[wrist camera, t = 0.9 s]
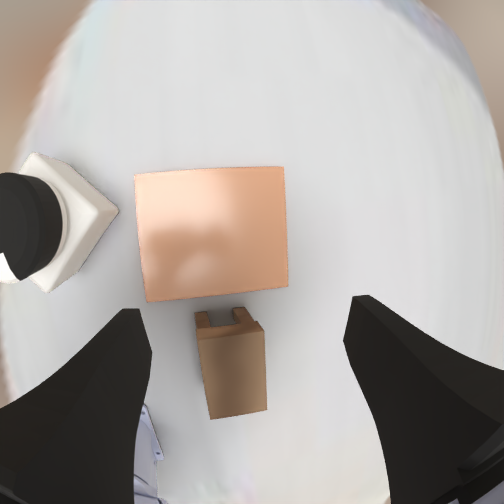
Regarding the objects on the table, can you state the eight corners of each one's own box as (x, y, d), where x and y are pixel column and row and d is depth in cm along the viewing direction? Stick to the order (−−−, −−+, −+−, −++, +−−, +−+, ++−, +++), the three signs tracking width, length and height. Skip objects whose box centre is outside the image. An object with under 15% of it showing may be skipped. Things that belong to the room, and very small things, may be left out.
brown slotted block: (245, 305, 27) (264, 330, 21) (250, 375, 29) (267, 409, 23) (192, 311, 26) (197, 340, 20) (202, 382, 27) (210, 419, 22)
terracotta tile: (285, 284, 28) (288, 286, 27) (147, 300, 25) (146, 302, 24) (281, 167, 26) (283, 166, 25) (135, 175, 23) (134, 174, 22)
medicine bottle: (66, 161, 21) (-6, 135, 9) (121, 209, 23) (73, 215, 12) (26, 225, 21) (-55, 242, 9) (77, 273, 23) (15, 322, 11)
